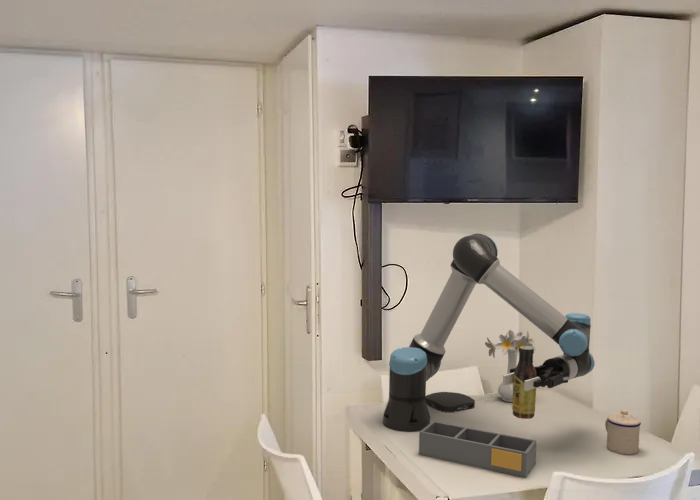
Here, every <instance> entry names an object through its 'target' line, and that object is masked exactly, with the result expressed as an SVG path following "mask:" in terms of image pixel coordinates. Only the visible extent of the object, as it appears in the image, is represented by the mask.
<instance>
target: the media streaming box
mask: <svg viewBox="0 0 700 500" xmlns="http://www.w3.org/2000/svg"><path fill="white" fill-rule="evenodd" d="M425 400H426V404H427V406H429V407H431V408H434V409H435V410H437V411H440V410H441V412H443V411H445V413H456V412H455V411H457V412H462V411H467V410H471V409H474V408H475V406H476V400H475V399H473V397H470V396H469V395H466V394H463V393H460V392H452V391H436V392H433V393H430V394H427V395H426V396H425ZM461 410H462V411H461Z"/></svg>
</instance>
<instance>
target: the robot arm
mask: <svg viewBox="0 0 700 500" xmlns="http://www.w3.org/2000/svg"><path fill="white" fill-rule="evenodd" d="M498 254H499V253H498V247H497V245H496V242H495V241H494V239H492V237H490V236H489V235H486V234H482V233H477V232H476V233H472V234H470V235H465V236H463V237H462V238H460V239H459V240H457V242H456V243H455V245H454V246H453V249H452V261H451V263H450V269H451V273H450V275H449V276H448V277H449V278H448V279H447V281H446V283H445V285H444V287H443V289H442V291H441V293H440V295H439V296H438V299H437V301H436V303H435V305H434V307H433V309H432V311H431V313H430V314H429V317H428V318H427V320H426V323H425V325H424V327H423V329H422V330H421V333H418V334H415V335H414V336H413V338H412V340H411V342H410V344H409V346H405V347H401V348H397V349H394V350H393V351H392V352H391V353H390V358H389V362H388V366H389V375H388V376H389V379H388V380H389V382H388V383H389V384H388V387H389V388H388V401H387V403H386V406H385V409H384V412H383V414H382V424H383V425H384V426H385V427H387V428H389V429H392V430H395V431H400V432H401V431H403V432H418V431H421V430H422V429H424V428H425V427H426V426H428V425H429V424H430V423H431V416H430V412H429V408H428V405H427V404H426V400H425V396H427V395H426V391H427V386H426V385H427V381H428V380H430V379H431V378H433V377H434V376H435V375H436V374H437V373H438V371H439V369H440V367H441V365H442V360H443V358H444V355H445V354H446V348H445V345H446V342H447V340H448V338H449V336H450V335H451V333H452V330H454V329H453V328H454V327H455V325H456V323H457V321H458V319H459V318H460V315H461V314H462V311H463V310H464V307H465V306H466V304H467V302H468V300H469V298H470V297H471V296H470V295H471V294H472V292H473V291H474V288H475V287H476V285H477V284H478V285H485V286H486V287H487V288H489V289H490V290H491V291H492V292H493V293H495V294H496V295H497V296H498V297H500V298H501V299H502V300H503V301H505V302H506V304H508V305H510V307H512V308H513V309H514V310H516V312H518V313H519V314H521V315H522V317H524V318H526V319H527V320H528V322H531V323H532V324H533V325H535V327H536V328H537V329H539V330H540V331H542V332H543V333H544V334H545V335H546V336H548V337H549V338H550V339H551V340H553V342H555V343H556V344H557V345H559V348H560V350H561V351H562V353H563V354H562V355H557V356H555V357H551V358H548V359H546V360H544V362H543V363H542V364H541V365H539V366H534V367H535V370H536V377H535V378H532V379H529V380H525V381H524V391H528V390H531V389H534V388H536V389H537V388H545V387H547V388H548V389H552V388H554V387H557V386H560V385H562V384H567V383H569V381H570V380H572V379H576V378H579V377H583V376H586V375H588V374H589V373H590V372H592V371H593V369H594V367H595V364H596V363H595V359H594V356H593V354H592V353H591V352H590V339H591V328H592V324H591V316H590V315H588V314H585V313H581V312H580V313H579V312H570V313H567V314H565V315H564V314H563V313H562V312H560V311H559V310H558V309H556V308H555V307H554V306H552V305H551V304H550V303H549V302H548V301H546V299H544V298H542V297H541V296H540V295H539V294H537V293H536V292H535V291H534V290H532V289H531V287H529V286H528V285H527V284H525V283H523V282H522V280H520V279H519V278H518V277H516V276H515V275H514V274H512V273H511V272H510V271H509V270H508V269H506V268H505V267H504V266H503V265H501V263H500V262H501V261H500V259H499V258H498ZM515 370H516V368H513V369H510V374H507V373H506V374H503V375H502V382H503V385H508V384H511V383H513V381H514V372H515Z"/></svg>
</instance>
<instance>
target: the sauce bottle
mask: <svg viewBox="0 0 700 500" xmlns="http://www.w3.org/2000/svg"><path fill="white" fill-rule="evenodd" d="M534 353H535V350H534V348H533V347H530V346H520V347H519V355H518V356H519V357H518V358H519V359H518V361H517V362H518V363H517V364H516V370H515V372H514V381H513V402H512V404H511V405H512V407H511V410H512V415H513V417H516V418H517V419H528V420H530V419H533V418H534V417H535V411H536V400H537V399H536V397H537V396H536V395H537V388H534V389H531V390H528V391H524V381H525V380H529V379H532V378H535V377H536V370H535V367H536V366H534V364H533V363H534Z"/></svg>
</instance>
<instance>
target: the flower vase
mask: <svg viewBox="0 0 700 500" xmlns="http://www.w3.org/2000/svg"><path fill="white" fill-rule="evenodd" d="M498 338H499V341H500V342H498V343H496V344H494V343H493V342H492V341H491V340H490V339H489V337H486V340H487V341H485V342H484V344H485V346H486V347H487V348H488V349H489V350H488V356H489V357H491V356H492V357H493V358H494V359H495V356H496V355H495V354H496V350H498V349H500V350H502V351H501V353H502V355H503V356H506V355H507V372H506V374H510V369H513V368H516V367H517V364H518V363H517V362H518V361H517V360H518V359H517V358H518V356H519V347H520V346H530V347H533V348H534V352H536V351H537V349H536V348H535V346H534V340H533V338H530V333H529V331H526V336H525V335H523V332H522V331H519V332H517V333H516V334H515V333H514V331H513V330H512V329H510V330H508V331H507V332H506V334H505V335H503V334H499V337H498ZM497 393H498V394H499V395H500V397H501V400H502V401H504V402H507V403H513V383H511V384H508V385H503V381H502V382H501V383H500V384H499V386H498V387H497Z"/></svg>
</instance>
